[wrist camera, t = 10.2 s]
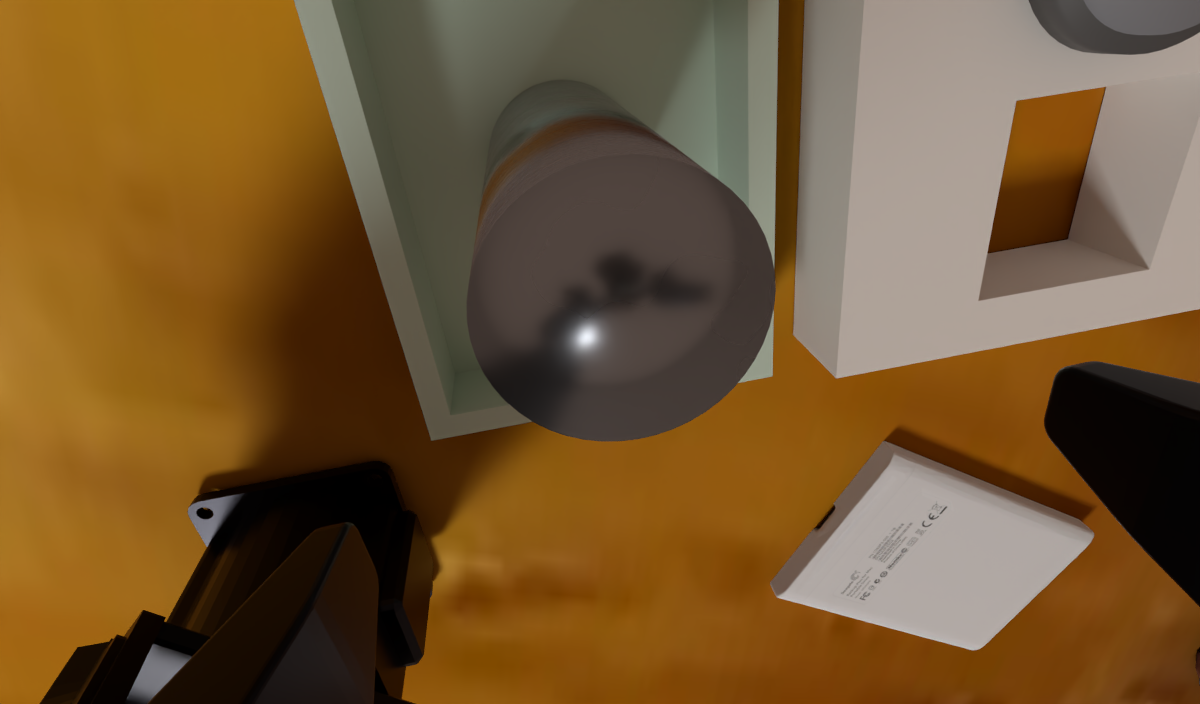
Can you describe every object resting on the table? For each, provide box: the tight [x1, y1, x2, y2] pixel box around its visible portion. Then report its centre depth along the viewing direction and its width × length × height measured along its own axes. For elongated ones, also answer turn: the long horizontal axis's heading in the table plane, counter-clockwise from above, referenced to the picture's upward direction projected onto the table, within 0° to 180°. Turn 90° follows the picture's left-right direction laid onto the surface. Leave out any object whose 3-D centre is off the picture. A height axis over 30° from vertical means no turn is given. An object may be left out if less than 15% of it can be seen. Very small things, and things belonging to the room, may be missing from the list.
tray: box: [294, 0, 779, 441], centre depth 16 cm, size 10×13×3 cm
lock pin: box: [466, 80, 775, 441], centre depth 12 cm, size 4×4×10 cm
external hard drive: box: [770, 441, 1094, 650], centre depth 27 cm, size 2×8×12 cm
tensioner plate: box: [793, 0, 1200, 378], centre depth 16 cm, size 12×14×5 cm
